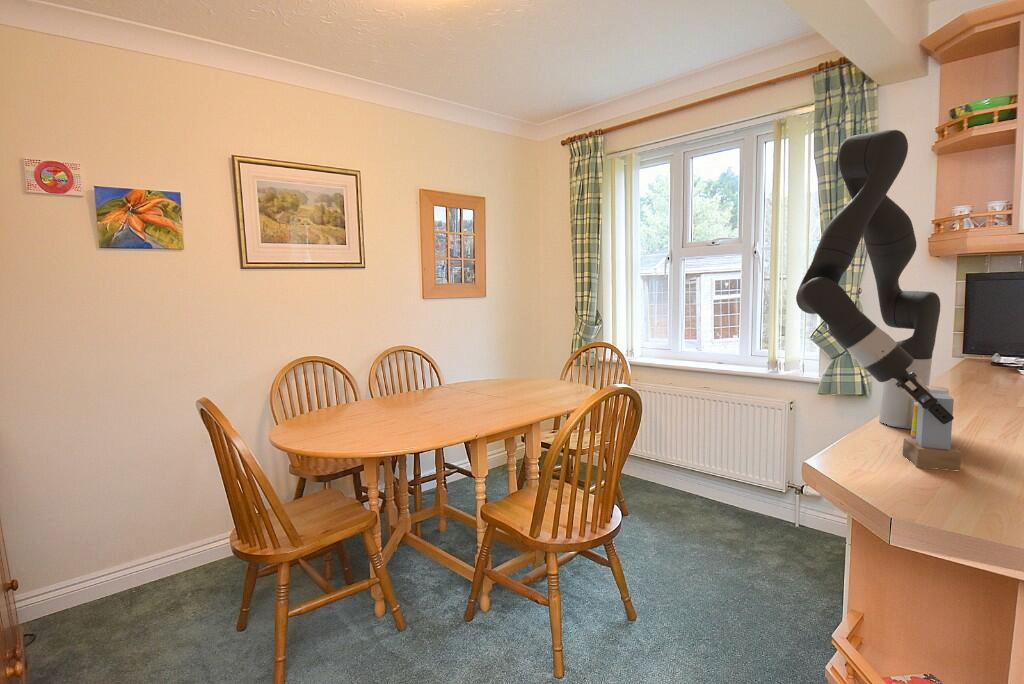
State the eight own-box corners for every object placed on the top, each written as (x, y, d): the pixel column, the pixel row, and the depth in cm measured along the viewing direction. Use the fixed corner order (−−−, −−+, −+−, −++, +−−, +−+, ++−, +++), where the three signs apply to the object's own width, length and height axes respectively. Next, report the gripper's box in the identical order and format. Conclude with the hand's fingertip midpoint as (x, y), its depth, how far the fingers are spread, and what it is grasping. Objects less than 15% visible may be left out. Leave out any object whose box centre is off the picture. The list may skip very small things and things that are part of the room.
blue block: (915, 440, 107) (919, 392, 106) (943, 443, 105) (947, 394, 104) (921, 447, 103) (924, 397, 102) (950, 449, 101) (953, 399, 100)
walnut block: (902, 456, 109) (904, 438, 108) (942, 460, 107) (944, 441, 106) (916, 468, 102) (918, 448, 102) (959, 472, 100) (962, 452, 100)
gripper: (901, 346, 99) (973, 413, 95) (891, 338, 111) (954, 396, 107) (865, 371, 102) (933, 436, 98) (859, 360, 114) (919, 418, 110)
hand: (944, 415), depth 103 cm, fingers open, 8 cm apart
